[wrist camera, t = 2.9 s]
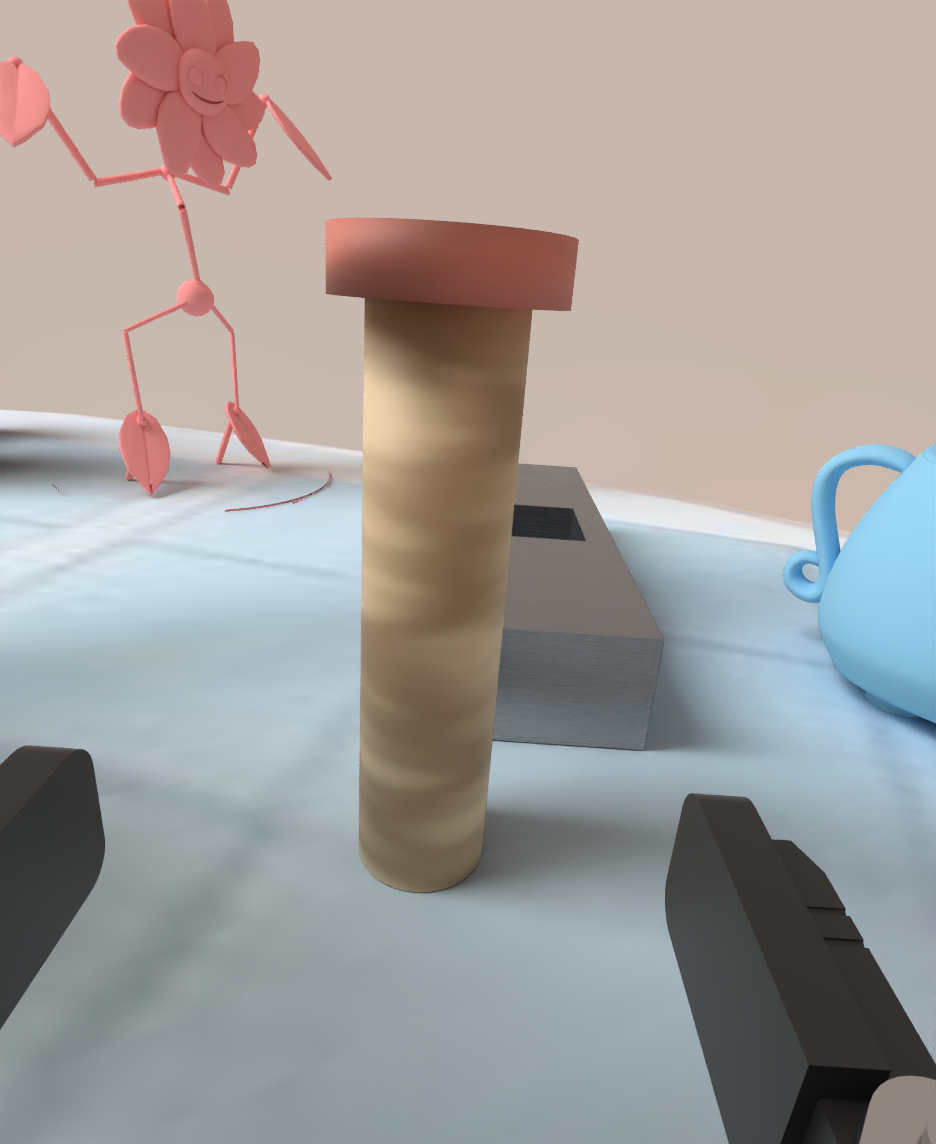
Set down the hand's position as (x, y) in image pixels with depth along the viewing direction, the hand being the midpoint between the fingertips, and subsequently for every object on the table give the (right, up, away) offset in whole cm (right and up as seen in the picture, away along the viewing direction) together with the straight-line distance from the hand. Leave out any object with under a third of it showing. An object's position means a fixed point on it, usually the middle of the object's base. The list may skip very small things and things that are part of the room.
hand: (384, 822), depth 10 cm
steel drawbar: (+4, +2, +32) cm, 32 cm away
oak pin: (0, -5, +13) cm, 14 cm away
